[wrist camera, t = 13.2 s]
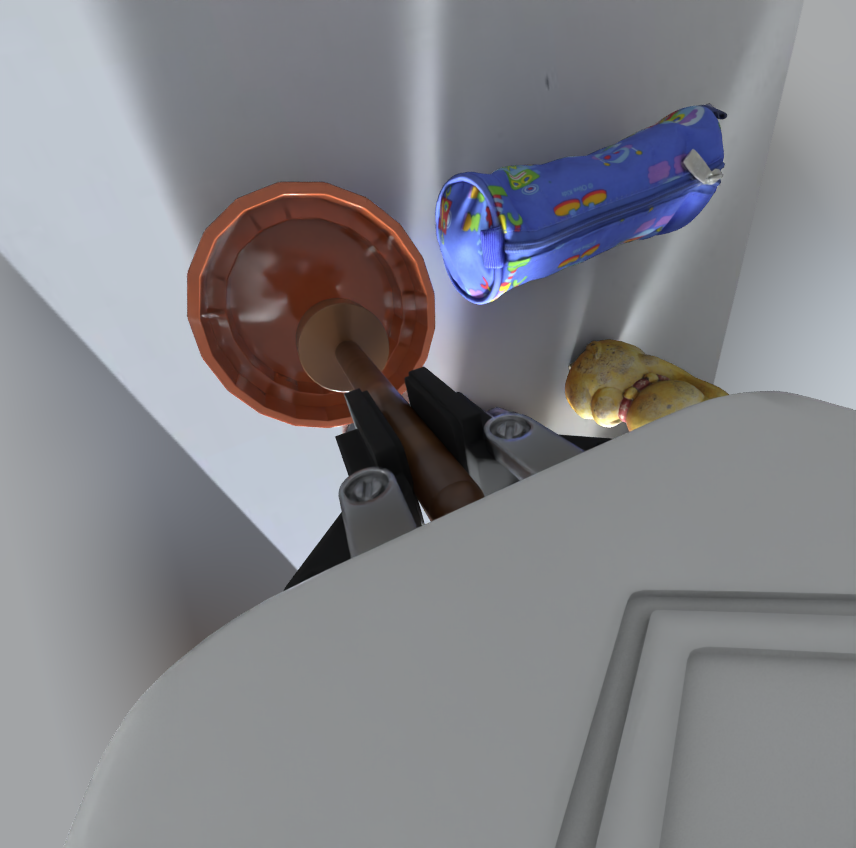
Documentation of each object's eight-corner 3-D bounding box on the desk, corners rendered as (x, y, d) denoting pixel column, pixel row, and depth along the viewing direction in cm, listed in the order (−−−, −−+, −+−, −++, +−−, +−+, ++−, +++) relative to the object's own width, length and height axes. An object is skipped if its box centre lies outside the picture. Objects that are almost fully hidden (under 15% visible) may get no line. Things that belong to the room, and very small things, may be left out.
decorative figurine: (564, 416, 43) (678, 487, 31) (539, 371, 39) (662, 434, 26) (623, 365, 43) (762, 416, 31) (605, 313, 38) (760, 348, 26)
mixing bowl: (171, 347, 25) (146, 373, 20) (258, 136, 22) (253, 106, 17) (356, 421, 33) (371, 453, 28) (440, 274, 30) (473, 282, 25)
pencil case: (644, 120, 30) (772, 80, 23) (636, 229, 35) (740, 226, 27) (416, 186, 26) (477, 165, 18) (441, 300, 31) (498, 321, 23)
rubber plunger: (280, 359, 20) (310, 601, 7) (319, 279, 19) (446, 379, 6) (356, 393, 23) (485, 613, 9) (394, 325, 22) (599, 464, 8)
